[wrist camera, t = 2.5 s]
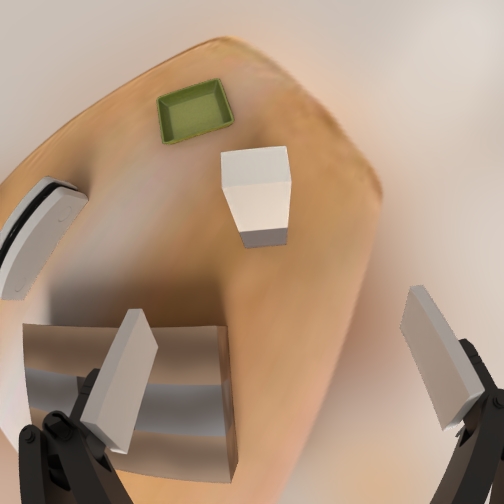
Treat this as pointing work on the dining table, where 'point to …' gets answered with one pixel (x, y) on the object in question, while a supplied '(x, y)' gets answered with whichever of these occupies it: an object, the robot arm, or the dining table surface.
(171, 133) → the olive green shallow tray
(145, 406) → the post foot
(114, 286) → the dining table surface
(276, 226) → the rail end
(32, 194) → the grey curved slotted block
